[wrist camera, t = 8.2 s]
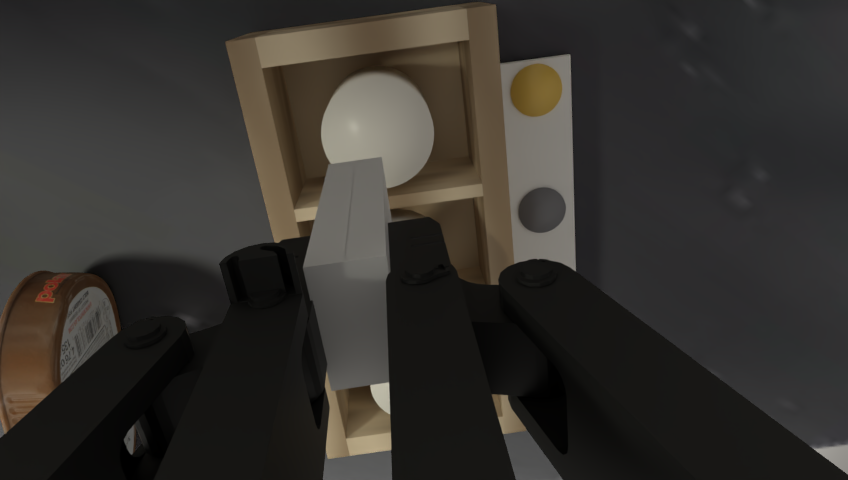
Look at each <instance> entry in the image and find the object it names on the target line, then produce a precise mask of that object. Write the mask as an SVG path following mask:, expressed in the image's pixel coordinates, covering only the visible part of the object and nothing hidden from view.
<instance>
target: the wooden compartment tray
mask: <svg viewBox="0 0 848 480" xmlns="http://www.w3.org/2000/svg"><path fill="white" fill-rule="evenodd" d="M225 43H226V47H227V51H228V56H229V60H230V64H231V68H232V72H233V76H234V80H235V84H236V88H237V92H238V96H239V100H240V104H241V108H242V112H243V116H244V120H245V124H246V128H247V132H248V136H249V141H250V145H251V149H252V153H253V157H254V161H255V165H256V169H257V173H258V177H259V181H260V185H261V189H262V193H263V197H264V201H265V205H266V209H267V213H268V217H269V221H270V226H271V230H272V234H273V238H274V242H276V243H279V242H280V241H281V240H284V239H291V238H297V237H304V236H311V233H312V229H313V225H314V221H315V217H316V213H317V209H318V205H319V201H320V197H321V193H322V189H323V185H324V181H325V177H326V173H327V169H328V165H329V164H331V163H330V162H329V160H328V158H327V156H326V154H325V151H324V148H323V145H322V139H321V126H322V120H323V116H324V113H325V111H326V108H327V106H328V104H329V102H330V100H331V98H332V96H333V93H334V91H335V90H336V88H337V87H338V85H339V84H340V83H341V82H342V81H343V80H344V79H345V78H346V77H347V76H348V75H350V74H351V73H353V72H355V71H357V70H359V69H362V68H365V67H370V66H385V67H390V68H393V69H396V70H399V71H401V72H403V73H404V74H406V75H407V76H409V77H410V78H411V79H412V80H413V81H414V82H415V83H416V84H417V86H418V87H419V88H420V90H421V91H422V93H423V96H424V98H425V100H426V103H427V106H428V109H429V112H430V114H431V117H432V121H433V126H434V142H433V147H432V151H431V154H430V156H429V158H428V160H427V162H426V163H425V165H424V166H423V168H422V169H421V170H420V171H419V172H418V173H417V174H416V175H415V176H414V177H413V178H411V179H410V180H408V181H407V182H405V183H403V184H401V185H398V186H395V187H391V188H387V193H388V200H389V206H390V210H393V209H405V210H411V211H414V212H417V213H420V214H422V215H424V216H425V217H430V218H432V219H433V220H435V221H437V222H438V223H440V226H441V229H442V233H443V237H444V240H445V244H446V248H447V251H448V255H449V259H450V262H451V264H452V265H453V266H454V267H455V269H456V270H457V273H458V277H459V278H461V279H463V280H465V281H468V282H472V283H476V284H486V285H499V283H498V278H499V275H500V272H502V271H503V270H504V269H505V268H507V267H508V266H510V265H513V264H514V252H513V238H512V224H511V210H510V196H509V182H508V167H507V153H506V139H505V125H504V111H503V97H502V83H501V69H500V54H499V40H498V26H497V12H496V5H495V4H489V3H484V2H471V3H464V4H456V5H449V6H442V7H434V8H427V9H420V10H412V11H405V12H398V13H390V14H383V15H376V16H368V17H361V18H354V19H347V20H339V21H332V22H325V23H317V24H310V25H303V26H295V27H288V28H281V29H273V30H266V31H259V32H251V33H248V34H245V35H243V36H240V37H237V38H234V39H231V40H228V41H226V42H225ZM325 388H326V393H327V397H328V401H329V406H330V411H329V421H328V431H327V441H326V452H327V456H328V459H331V458H338V457H345V456H352V455H359V454H366V453H373V452H380V451H387V450H391V423H390V414H388V413H387V412H385V411H384V410H383V409H381V408H380V406H379V405H378V404H377V403H376V401H375V400H374V398H373V396H372V392H371V387H370V385H368V386H361V387H355V388H348V389H342V390H335V391H331V387H330V383H329V379H328V374H327V372H326V380H325ZM492 397H493V401H494V404H495V408H496V412H497V415H498V419H499V422H500V426H501V429H502V433H503V434H507V433H514V432H521V431H526V428H525V426H524V425H523V424H522V422H521V421H520V419H519V418H518V417H517V415H516V414H515V413H514V411H513V410H512V408H511V406H510V403H509V401H508V395H497V394H492Z"/></svg>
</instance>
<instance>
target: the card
mask: <svg viewBox="0 0 848 480" xmlns="http://www.w3.org/2000/svg"><path fill="white" fill-rule="evenodd" d="M500 69H501V83H502V97H503V111H504V125H505V139H506V153H507V167H508V182H509V196H510V210H511V224H512V238H513V252H514V264H516V263H518V262H522V261H528V260H529V259H537V260H539V259H547V260H550V261H555V262H560V263H562V264H564V265H566V266H568V267H570V268H572V269H573V270H574V271H576V259H575V218H574V178H573V137H572V97H571V57H570V54H564V55H557V56H549V57H542V58H535V59H528V60H520V61H513V62H506V63H500Z"/></svg>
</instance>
